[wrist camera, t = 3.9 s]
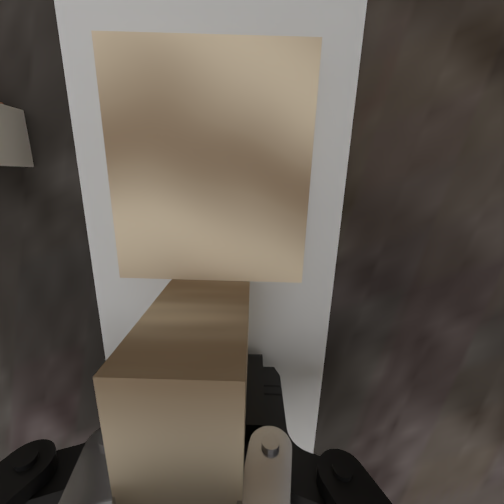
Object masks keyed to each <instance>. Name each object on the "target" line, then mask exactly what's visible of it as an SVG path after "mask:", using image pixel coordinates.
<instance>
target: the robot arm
mask: <svg viewBox="0 0 504 504" xmlns="http://www.w3.org/2000/svg"><path fill="white" fill-rule="evenodd" d="M0 504H116V502H115V497H112V492H111V486H110V480H109V474H108V468H107V462H106V456H105V450H104V443H103V437H102V431H101V427H100V428H99V429H97V430H96V431H95V432H94V433H93V434H92V435H91V436H90V437H89V438H88V440H87V441H86V442H85V443H83V444H80V445H76V446H72V447H69V448H65V449H61V450H57V451H56V447H55V444H54V443H53V442H52V441H50V440H44V439H42V440H36V441H33V442H30V443H28V444H25V445H23V446H22V447H20V448H18V449H17V450H15V451H14V452H13V453H11V454H10V455H9V456H7V457H6V458H5V459H3V460H2V461H1V462H0ZM237 504H392V503H391V502H390V500H389V499H388V498H387V497H386V495H385V494H384V493H383V491H382V490H381V489H380V488H379V486H378V485H377V484H376V483H375V481H374V480H373V479H372V477H371V476H370V475H369V474H368V472H367V471H366V470H365V469H364V467H363V466H362V465H361V464H360V462H359V461H358V460H357V459H356V458H355V457H354V456H352V455H351V454H350V453H348V452H346V451H343V450H340V449H329V450H327V451H325V452H324V453H323V454H322V455H321V456H318V455H315V454H312V453H310V452H307V451H305V450H303V449H301V448H300V447H298V446H297V445H296V444H295V443H294V442H293V441H292V439H291V438H290V436H289V434H288V431H287V426H286V418H285V410H284V403H283V396H282V388H281V379H280V375H279V373H278V372H277V370H276V369H275V367H263V356H262V354H248V362H247V390H246V417H245V452H244V470H243V497H242V501H237Z"/></svg>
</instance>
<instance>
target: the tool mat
mask: <svg viewBox="0 0 504 504" xmlns="http://www.w3.org/2000/svg"><path fill="white" fill-rule="evenodd" d="M54 4H55V11H56V18H57V25H58V32H59V39H60V46H61V53H62V60H63V67H64V74H65V81H66V88H67V94H68V101H69V108H70V115H71V122H72V129H73V136H74V143H75V150H76V157H77V164H78V171H79V178H80V185H81V192H82V199H83V206H84V213H85V220H86V227H87V234H88V240H89V247H90V254H91V261H92V268H93V275H94V282H95V289H96V296H97V303H98V310H99V317H100V324H101V331H102V338H103V345H104V352H105V359H106V360H107V359H108V358H109V356H110V355H111V354H112V353H113V351H114V350H115V349H116V348H117V346H118V345H119V344H120V343H121V342H122V340H123V339H124V338H125V337H126V335H127V334H128V333H129V332H130V330H131V329H132V328H133V327H134V325H135V324H136V323H137V322H138V320H139V319H140V318H141V317H142V315H143V314H144V313H145V312H146V311H147V309H148V308H149V307H150V306H151V304H152V303H153V302H154V301H155V299H156V298H157V297H158V296H159V294H160V293H161V292H162V291H163V289H164V288H165V287H166V286H167V284H168V283H169V282H170V281H171V280H172V279H148V278H120V275H119V266H118V258H117V249H116V240H115V232H114V223H113V214H112V206H111V197H110V188H109V180H108V171H107V163H106V154H105V145H104V137H103V128H102V119H101V111H100V102H99V93H98V85H97V76H96V67H95V59H94V50H93V41H92V33H91V31H125V32H161V33H197V34H232V35H268V36H304V37H322V47H321V59H320V71H319V83H318V95H317V107H316V118H315V130H314V142H313V154H312V166H311V178H310V190H309V202H308V214H307V226H306V238H305V249H304V261H303V273H302V283H288V282H253V281H250V294H249V331H248V354H262V356H263V367H275V369H276V370H277V372H278V373H279V375H280V379H281V388H282V396H283V403H284V410H285V418H286V426H287V431H288V434H289V436H290V438H291V439H292V441H293V442H294V443H295V444H296V445H297V446H298V447H300V448H301V449H303V450H305V451H307V452H310V453H312V454H313V451H314V443H315V434H316V426H317V417H318V409H319V401H320V392H321V384H322V376H323V367H324V359H325V350H326V342H327V334H328V325H329V317H330V308H331V300H332V292H333V283H334V275H335V267H336V258H337V250H338V241H339V233H340V225H341V216H342V208H343V200H344V191H345V183H346V174H347V166H348V158H349V149H350V141H351V132H352V124H353V116H354V107H355V99H356V91H357V82H358V74H359V65H360V57H361V49H362V40H363V32H364V23H365V15H366V7H367V0H54Z"/></svg>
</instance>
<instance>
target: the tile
mask: <svg viewBox="0 0 504 504" xmlns="http://www.w3.org/2000/svg"><path fill="white" fill-rule="evenodd" d="M0 166H12V167H34V164H33V158H32V153H31V148H30V142H29V137H28V132H27V126H26V121H25V116H24V110H21V109H18V108H14V107H11V106H7V105H4V104H3V103H2V102H0Z"/></svg>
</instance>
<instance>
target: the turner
mask: <svg viewBox="0 0 504 504" xmlns="http://www.w3.org/2000/svg"><path fill="white" fill-rule="evenodd" d="M91 33H92V41H93V50H94V59H95V67H96V76H97V85H98V93H99V102H100V111H101V119H102V128H103V137H104V145H105V154H106V163H107V171H108V180H109V188H110V197H111V206H112V214H113V223H114V232H115V240H116V249H117V258H118V266H119V275H120V278H148V279H172V280H171V281H170V282H169V283H168V284H167V286H166V287H165V288H164V289H163V291H162V292H161V293H160V294H159V296H158V297H157V298H156V299H155V301H154V302H153V303H152V304H151V306H150V307H149V308H148V309H147V311H146V312H145V313H144V314H143V315H142V317H141V318H140V319H139V320H138V322H137V323H136V324H135V325H134V327H133V328H132V329H131V330H130V332H129V333H128V334H127V335H126V337H125V338H124V339H123V340H122V342H121V343H120V344H119V345H118V346H117V348H116V349H115V350H114V351H113V353H112V354H111V355H110V356H109V358H108V359H107V360H106V361H105V363H104V364H103V365H102V366H101V368H100V369H99V370H98V371H97V373H96V374H95V375H94V376H93V382H94V388H95V394H96V401H97V407H98V413H99V419H100V425H101V431H102V437H103V443H104V450H105V456H106V462H107V468H108V474H109V480H110V486H111V492H112V497H115V502H116V504H237V501H242V497H243V470H244V452H245V417H246V390H247V362H248V331H249V294H250V281H253V282H288V283H302V273H303V261H304V249H305V238H306V226H307V214H308V202H309V190H310V178H311V166H312V154H313V142H314V130H315V118H316V107H317V95H318V83H319V71H320V59H321V47H322V37H304V36H268V35H232V34H197V33H161V32H125V31H91Z"/></svg>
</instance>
